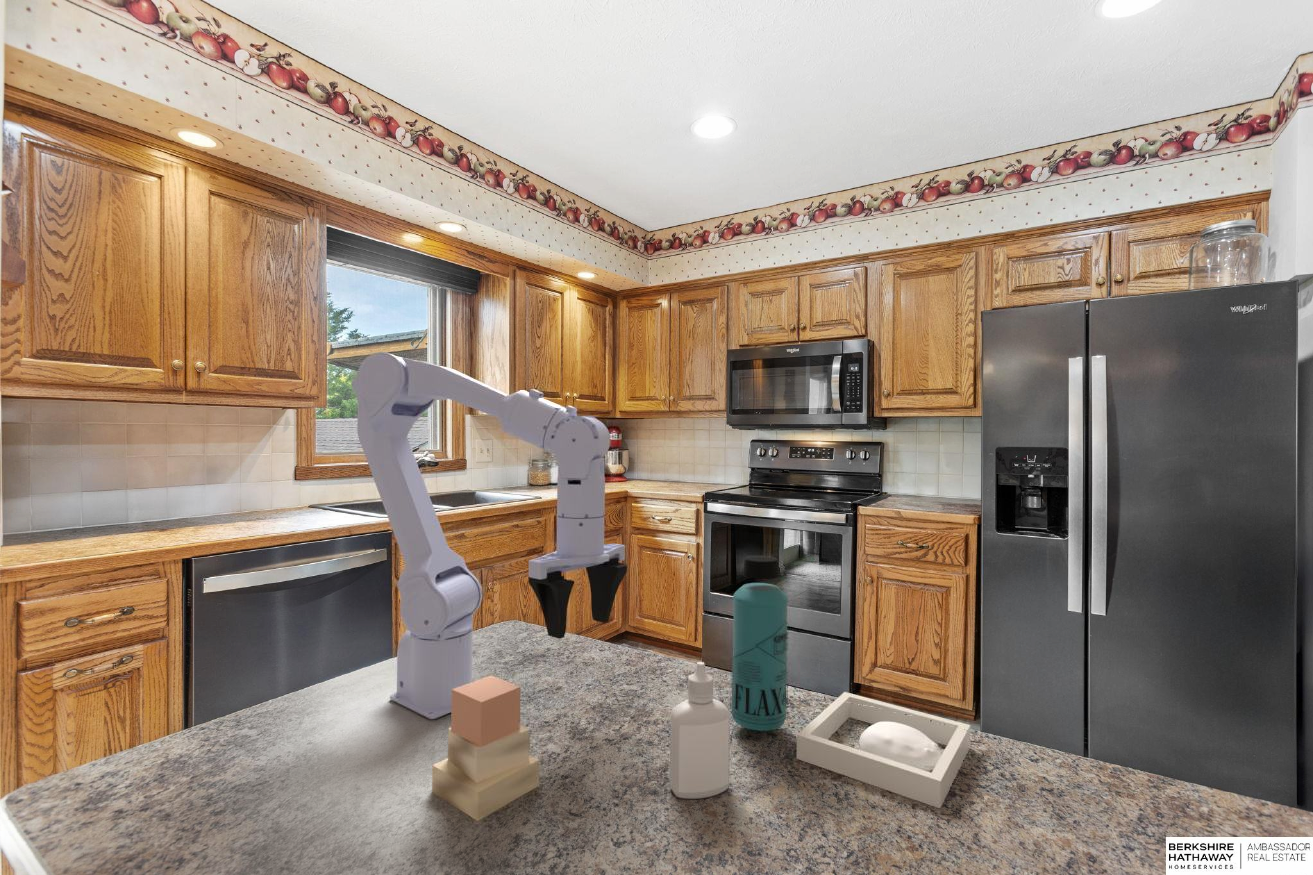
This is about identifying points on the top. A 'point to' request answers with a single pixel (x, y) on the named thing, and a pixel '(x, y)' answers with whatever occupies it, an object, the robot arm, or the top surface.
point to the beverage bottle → (759, 649)
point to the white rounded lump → (900, 745)
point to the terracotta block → (485, 710)
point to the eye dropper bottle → (699, 741)
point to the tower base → (483, 787)
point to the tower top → (489, 754)
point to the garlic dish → (879, 769)
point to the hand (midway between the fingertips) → (579, 628)
